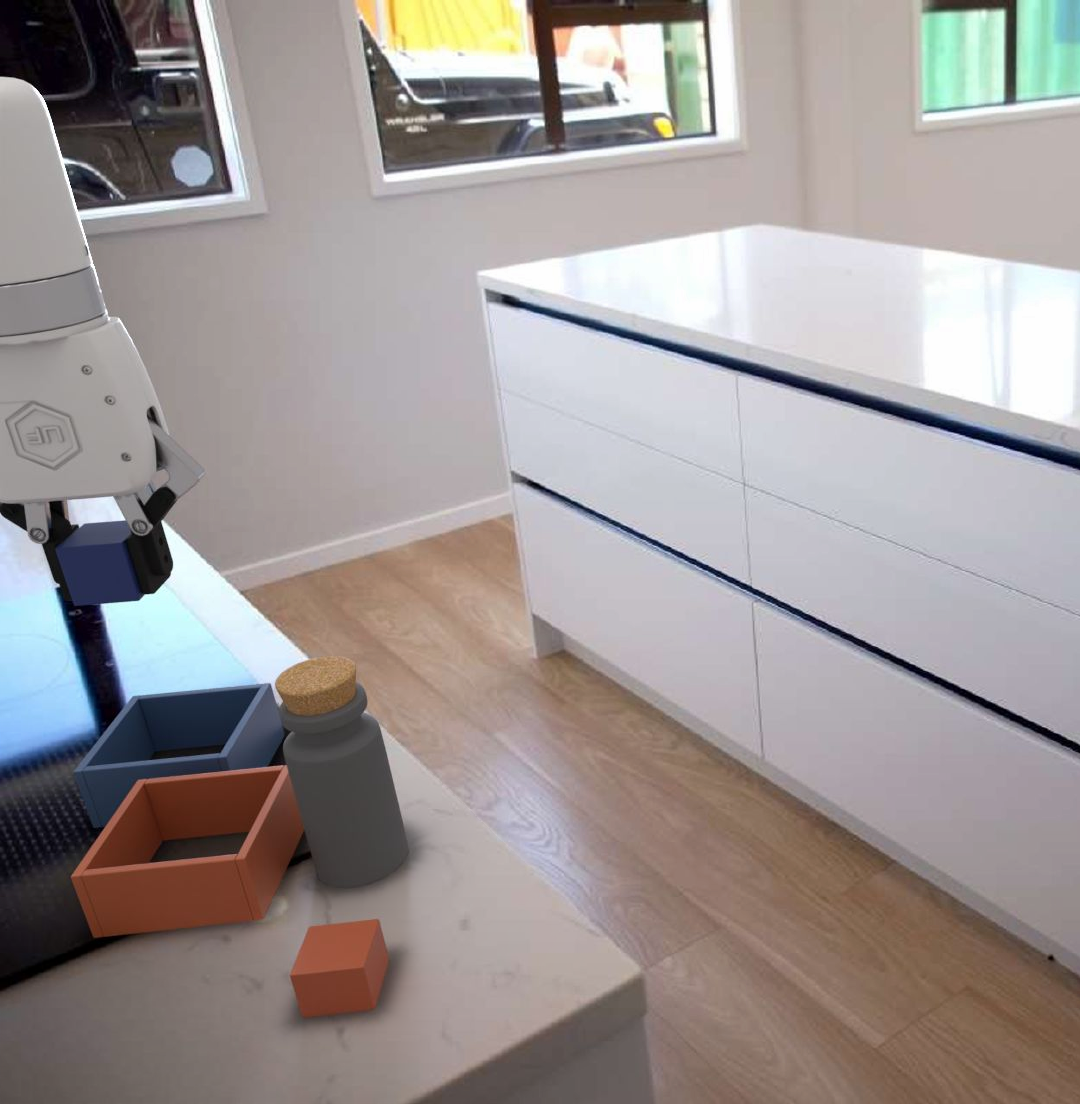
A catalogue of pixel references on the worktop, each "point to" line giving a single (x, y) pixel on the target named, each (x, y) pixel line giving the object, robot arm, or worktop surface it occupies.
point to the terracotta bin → (192, 884)
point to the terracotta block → (340, 968)
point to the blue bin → (178, 741)
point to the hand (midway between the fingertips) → (118, 585)
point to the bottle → (340, 774)
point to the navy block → (99, 564)
